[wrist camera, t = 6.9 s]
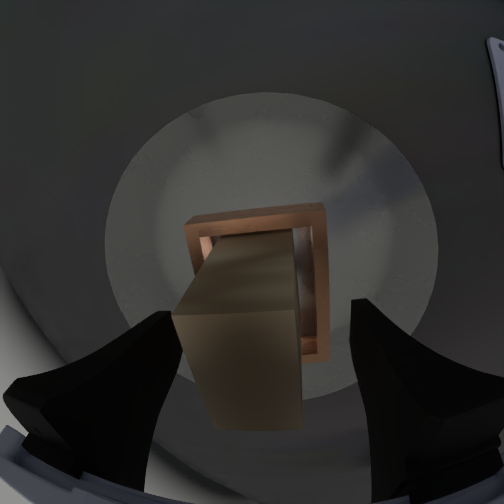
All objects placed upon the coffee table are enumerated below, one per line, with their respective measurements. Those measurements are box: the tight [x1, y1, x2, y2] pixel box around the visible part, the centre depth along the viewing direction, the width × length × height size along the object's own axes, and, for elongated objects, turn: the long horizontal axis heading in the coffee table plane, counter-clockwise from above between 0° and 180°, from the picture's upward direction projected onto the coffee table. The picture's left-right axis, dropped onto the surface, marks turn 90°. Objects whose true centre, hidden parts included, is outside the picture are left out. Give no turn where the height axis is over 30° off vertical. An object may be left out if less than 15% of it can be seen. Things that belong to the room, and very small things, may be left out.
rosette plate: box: [105, 92, 438, 400], centre depth 14 cm, size 18×18×2 cm
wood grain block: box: [171, 228, 303, 431], centre depth 11 cm, size 3×5×7 cm, turn 8°
